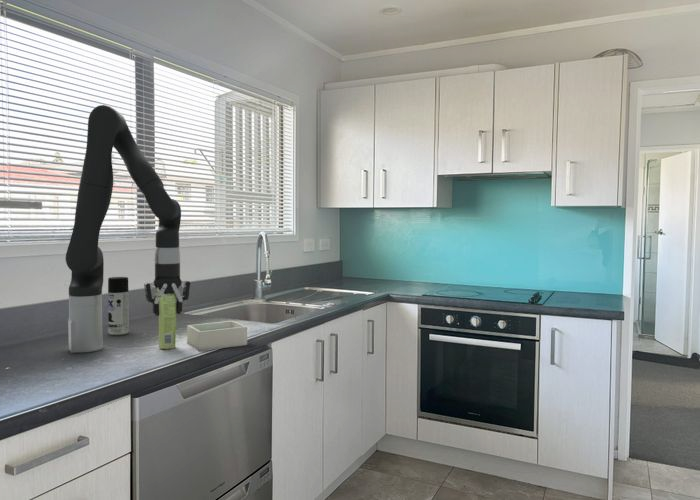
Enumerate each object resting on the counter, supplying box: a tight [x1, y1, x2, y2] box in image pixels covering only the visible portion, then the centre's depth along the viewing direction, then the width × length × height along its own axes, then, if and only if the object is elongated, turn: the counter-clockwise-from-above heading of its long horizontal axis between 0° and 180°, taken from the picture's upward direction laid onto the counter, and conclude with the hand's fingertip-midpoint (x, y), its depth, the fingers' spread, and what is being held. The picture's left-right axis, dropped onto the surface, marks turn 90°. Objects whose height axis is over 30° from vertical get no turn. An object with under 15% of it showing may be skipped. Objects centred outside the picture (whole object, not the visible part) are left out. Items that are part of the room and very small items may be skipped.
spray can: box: [107, 276, 130, 336], centre depth 188 cm, size 7×7×20 cm
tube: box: [156, 287, 177, 350], centre depth 168 cm, size 6×5×20 cm
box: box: [186, 320, 248, 352], centre depth 174 cm, size 16×12×6 cm
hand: (167, 314), depth 168 cm, fingers closed on tube, 6 cm apart
